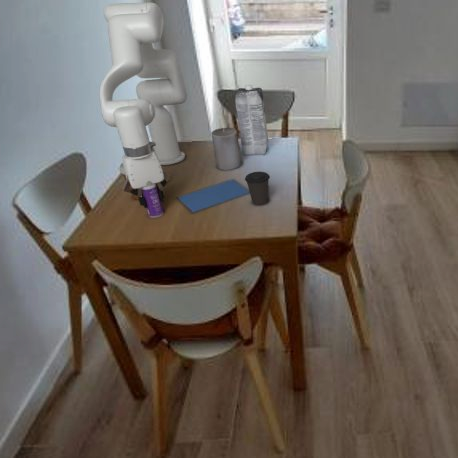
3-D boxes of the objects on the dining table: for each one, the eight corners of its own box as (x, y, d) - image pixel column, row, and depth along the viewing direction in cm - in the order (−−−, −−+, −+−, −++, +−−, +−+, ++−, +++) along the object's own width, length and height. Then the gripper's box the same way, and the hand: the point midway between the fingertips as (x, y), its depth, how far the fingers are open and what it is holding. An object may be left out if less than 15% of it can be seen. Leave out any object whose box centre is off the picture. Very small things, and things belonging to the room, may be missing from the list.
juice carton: (267, 155, 178) (259, 89, 163) (242, 156, 178) (232, 89, 163) (269, 147, 185) (262, 83, 170) (245, 147, 185) (236, 83, 170)
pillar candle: (224, 159, 175) (218, 123, 167) (246, 161, 173) (241, 125, 165) (212, 169, 167) (205, 132, 159) (235, 171, 165) (229, 134, 157)
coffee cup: (265, 209, 140) (261, 181, 135) (243, 205, 143) (239, 178, 137) (276, 197, 147) (273, 171, 141) (255, 194, 149) (252, 167, 144)
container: (158, 218, 137) (146, 175, 128) (145, 217, 137) (132, 174, 129) (166, 211, 140) (155, 169, 132) (153, 209, 141) (141, 168, 133)
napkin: (177, 198, 148) (177, 197, 148) (232, 180, 159) (232, 179, 159) (193, 212, 139) (192, 211, 139) (250, 192, 150) (249, 191, 150)
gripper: (161, 139, 134) (174, 191, 144) (104, 153, 125) (122, 207, 135) (170, 145, 129) (183, 199, 139) (111, 161, 120) (129, 217, 130)
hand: (153, 202), depth 137 cm, fingers closed on container, 4 cm apart
